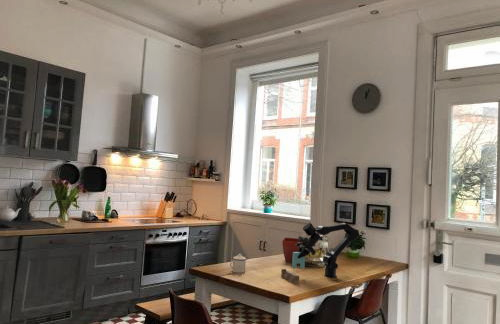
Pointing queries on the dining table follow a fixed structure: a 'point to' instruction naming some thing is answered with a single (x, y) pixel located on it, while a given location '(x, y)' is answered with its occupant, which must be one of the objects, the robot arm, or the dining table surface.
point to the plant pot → (289, 248)
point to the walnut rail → (290, 276)
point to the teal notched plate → (298, 260)
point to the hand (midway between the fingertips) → (296, 257)
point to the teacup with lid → (238, 264)
